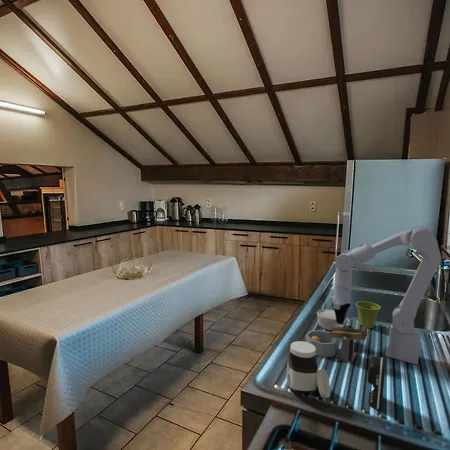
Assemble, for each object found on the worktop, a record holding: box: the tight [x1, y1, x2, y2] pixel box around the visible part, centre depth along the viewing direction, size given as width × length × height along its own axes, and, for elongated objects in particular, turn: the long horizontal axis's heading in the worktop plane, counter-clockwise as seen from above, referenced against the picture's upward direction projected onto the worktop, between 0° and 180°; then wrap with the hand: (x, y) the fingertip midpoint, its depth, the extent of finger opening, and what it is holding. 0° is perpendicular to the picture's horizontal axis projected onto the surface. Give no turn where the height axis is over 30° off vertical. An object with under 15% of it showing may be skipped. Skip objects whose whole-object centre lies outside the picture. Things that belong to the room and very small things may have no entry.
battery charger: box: [366, 355, 386, 410], centre depth 85 cm, size 7×4×11 cm, turn 152°
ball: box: [311, 336, 320, 342], centre depth 114 cm, size 4×4×4 cm
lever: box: [328, 319, 368, 341], centre depth 112 cm, size 12×16×3 cm
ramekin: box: [316, 308, 347, 331], centre depth 132 cm, size 11×11×5 cm
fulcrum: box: [335, 335, 358, 364], centre depth 108 cm, size 5×8×8 cm, turn 146°
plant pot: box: [355, 300, 382, 329], centre depth 134 cm, size 9×9×9 cm
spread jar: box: [286, 340, 331, 399], centre depth 89 cm, size 12×11×12 cm
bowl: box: [304, 329, 340, 358], centre depth 112 cm, size 10×10×4 cm
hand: (340, 322), depth 118 cm, fingers closed, pressing on lever
